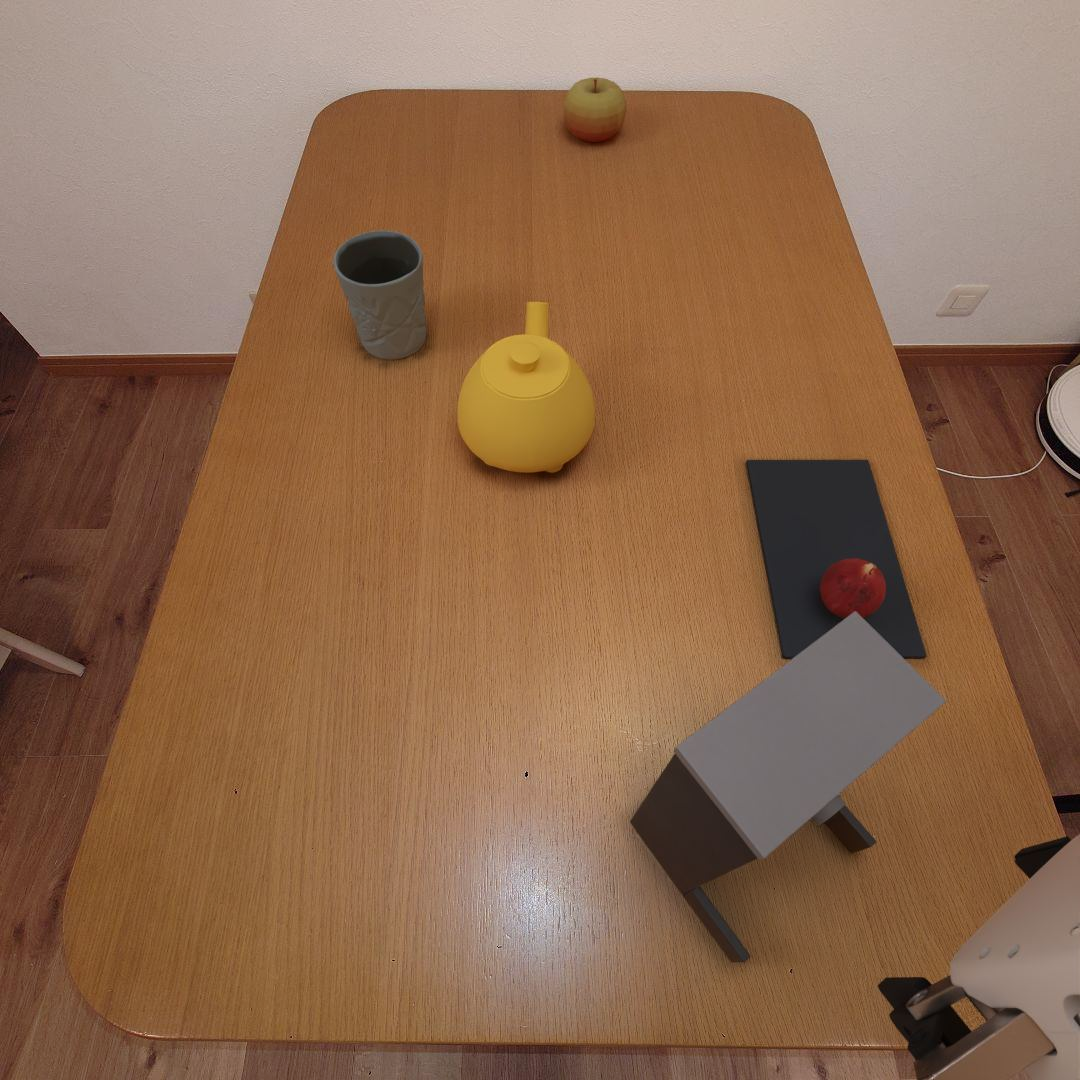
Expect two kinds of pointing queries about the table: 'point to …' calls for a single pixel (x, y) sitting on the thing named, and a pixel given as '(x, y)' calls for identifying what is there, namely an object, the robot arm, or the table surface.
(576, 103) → the apple
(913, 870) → the table surface
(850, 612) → the pomegranate
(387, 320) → the grey cup
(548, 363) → the teapot
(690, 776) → the grey legged box
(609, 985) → the table surface
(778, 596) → the mat
